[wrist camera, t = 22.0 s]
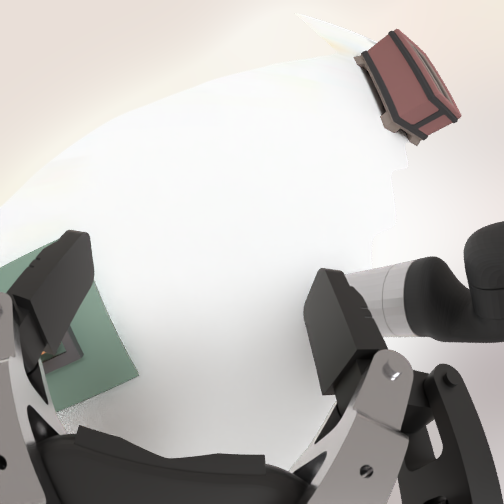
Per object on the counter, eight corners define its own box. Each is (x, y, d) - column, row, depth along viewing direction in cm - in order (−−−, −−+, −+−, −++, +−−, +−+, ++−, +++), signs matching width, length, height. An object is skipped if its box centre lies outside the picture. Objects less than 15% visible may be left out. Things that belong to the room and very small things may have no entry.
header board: (138, 372, 28) (140, 380, 25) (28, 419, 20) (19, 431, 16) (77, 234, 28) (72, 225, 25) (-29, 287, 20) (-43, 284, 16)
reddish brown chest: (385, 73, 79) (421, 47, 61) (417, 146, 73) (465, 121, 55) (350, 52, 70) (389, 19, 52) (384, 128, 64) (439, 94, 46)
